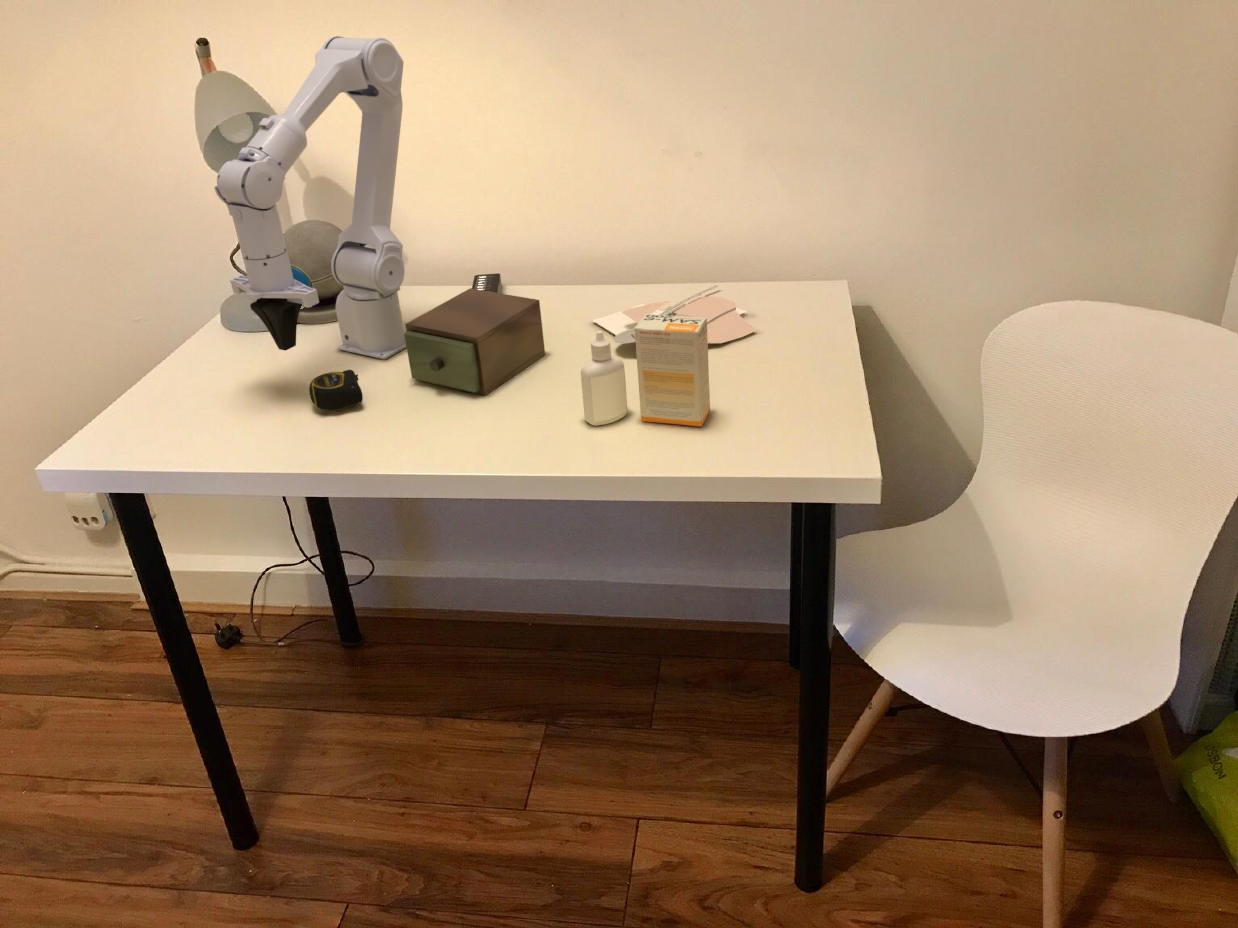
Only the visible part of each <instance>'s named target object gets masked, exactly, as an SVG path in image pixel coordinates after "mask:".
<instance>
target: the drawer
mask: <svg viewBox="0 0 1238 928" xmlns="http://www.w3.org/2000/svg"><path fill="white" fill-rule="evenodd" d="M404 337H405V342H406V347H405V348H406V352H407V358H408V364H409V369H410V374H411V379H414V380H416V379H418V380H417V381H419V380H422V381H421V382H423V381H427V382H426V383H428V382H431V383H430V384H432V383H436V384H435V385H437V384H440V385H439V386H441V385H444V386H443V387H445V386H449V387H448V388H450V387H453V388H452V389H454V388H458V389H462V390H461V391H463V390H466V391H465V392H467V391H471V392H470V393H472V392H477V391H479V390H480V389H481V387H480V380H479V373H478V366H477V360H476V353H475V346H474V343H473V342H468V341H463V340H458V339H453V338H448V337H443V336H438V335H433V334H428V333H423V332H420V333H418V332H413V331H408V332H407V331H406V332H405V334H404ZM458 389H457V390H458Z"/></svg>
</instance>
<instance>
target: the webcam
mask: <svg viewBox="0 0 1238 928" xmlns="http://www.w3.org/2000/svg"><path fill="white" fill-rule="evenodd" d="M343 231H344V230H342V229H341V228H340V227H338V226H337V225H335V224H333V223H331V222H328V221H323V220H320V219H308V220H302V221H300V222H297V223H294V224H293V225H291V226H290V227H288V228H287V229H286V230H285V231H283V235H284V240H285V244H286V248H287V252H288V257H289V261H290V266H291V270H292V274H293V279H295V280H297V281H299V282H301V283H302V284H304V285H306V286H308V287H310V288H313V289H316V290H317V294H318V299H319V303H317V304H315V305H313V306H312V307H309V308H308V307H304V308H303V309H300V312H299V315H298V320H297V323H299V324H306V325H307V324H311V325H314V324H325V323H326V324H327V323H332V322H336V321H337V322H338V319H337V314H336V301H337V297H338V295H339V294H340V292H341V291H342V290H344V287H343V285H341V284H340V283H338V282H337V281H336V280H335V278H334V276H333V274H332V270H331V261H332V257H333V254H334V253H335V251H336V249H337V246H338V240H339V235H340V234H341V233H342V232H343Z"/></svg>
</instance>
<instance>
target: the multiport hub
mask: <svg viewBox="0 0 1238 928" xmlns="http://www.w3.org/2000/svg"><path fill="white" fill-rule="evenodd" d="M502 287H503V285H502V277H501V273H498V272H497V273H485V274H476V275H474V276H473V282H472V287H471V289H477V290H483V291H489V292H495V293H501V294H502Z"/></svg>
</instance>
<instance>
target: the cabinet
mask: <svg viewBox="0 0 1238 928" xmlns="http://www.w3.org/2000/svg"><path fill="white" fill-rule="evenodd" d="M541 313H542V311H541V303H540V299H537V298H536V299H535V298H531V297H530V298H529V297H524V296H517V295H512V294H506V293H502V292H501V293H495V292H489V291H483V290H477V289H472V287H471V288H468V289H466V290H464V291H463V292H461V293H458V294H457V295H455V296H454V297H452V298H449V299H448V300H446V301H444V302H443V303H441V304H439V305H437V306H435V307H433V308H432V309H429V310H428V311H426V312H424V313H423V314H421V315H419V316H417V317H415V318H414V319H411V320H410V321H408V322H407V323H405V324H404V325H405V329H406V333H407V332H408V331H413V332H418V333H420V332H423V333H428V334H433V335H438V336H443V337H448V338H453V339H458V340H463V341H468V342H473V343H474V346H475V353H476V360H477V366H478V373H479V380H480V387H481V389H480V390H479V391H477V392H471V391H466V390H462V389H458V388H453V387H449V386H444V385H440V384H436V383H431V382H427V381H422V380H418V379H415V380H416V381H419V382H420V381H421V382H423V383H428V384H433V385H437V386H442V387H446V388H450V389H454V390H459V391H464V392H468V393H473V394H476V395H480V396H487V395H488V394H490V393H491V392H493V391H494V390H496V389H497V388H499V387H500V386H501V385H504V383H506V382H508V381H509V380H511V379H513V378H514V377H515V376H516V375H518V374H520V373H521V372H522V371H524V370H525V369H527V368H528V367H529V366H531V365H533V363H536V362H537V361H539V360H540V359H541V358H543V357H544V356H546V349H545V338H544V330H543V322H542V314H541Z"/></svg>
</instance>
